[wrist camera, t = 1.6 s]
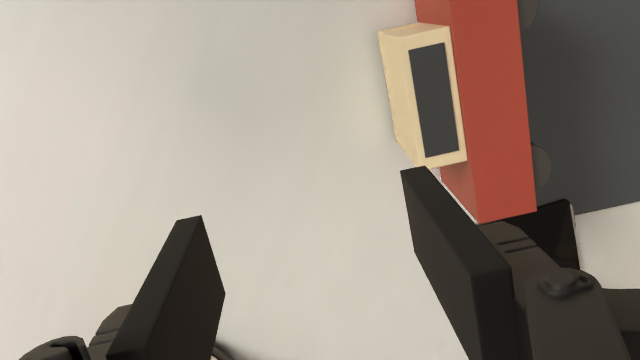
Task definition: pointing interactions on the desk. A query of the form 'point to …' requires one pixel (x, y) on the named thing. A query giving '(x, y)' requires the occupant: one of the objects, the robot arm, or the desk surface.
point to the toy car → (467, 101)
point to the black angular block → (550, 231)
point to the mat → (585, 100)
